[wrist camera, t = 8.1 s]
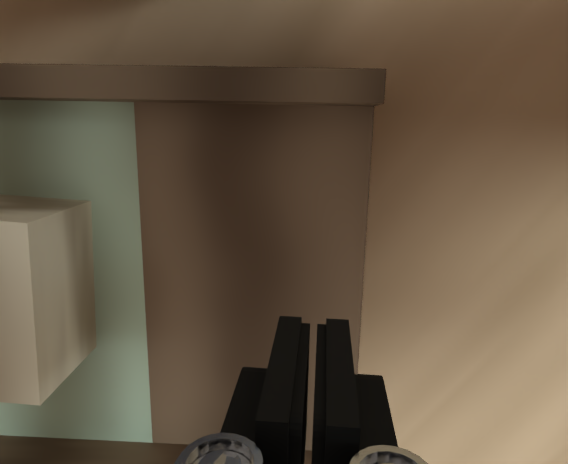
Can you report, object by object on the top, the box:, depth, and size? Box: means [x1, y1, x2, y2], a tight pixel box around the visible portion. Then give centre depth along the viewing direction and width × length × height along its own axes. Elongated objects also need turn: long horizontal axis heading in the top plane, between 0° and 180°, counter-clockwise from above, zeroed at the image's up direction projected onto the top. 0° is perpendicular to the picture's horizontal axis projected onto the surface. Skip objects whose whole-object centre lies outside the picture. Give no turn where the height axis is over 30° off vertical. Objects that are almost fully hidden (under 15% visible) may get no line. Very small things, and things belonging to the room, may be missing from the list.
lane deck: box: [0, 64, 386, 464], centre depth 19 cm, size 25×16×6 cm, turn 89°
